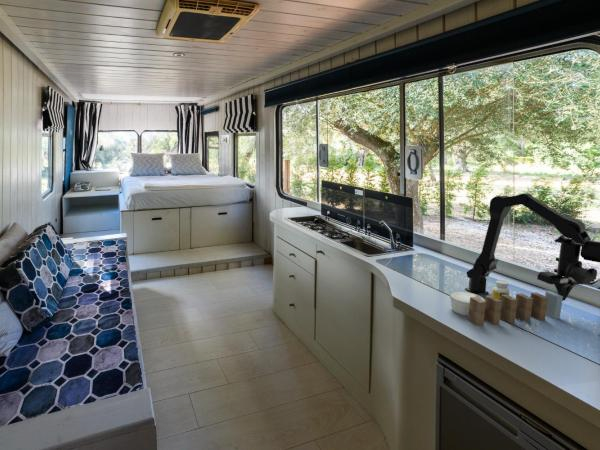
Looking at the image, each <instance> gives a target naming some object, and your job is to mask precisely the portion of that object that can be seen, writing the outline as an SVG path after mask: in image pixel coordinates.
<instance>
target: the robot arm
mask: <svg viewBox="0 0 600 450" xmlns="http://www.w3.org/2000/svg"><path fill="white" fill-rule="evenodd" d="M519 205H522V206H523V207H525V208H527V209H528V210H530V211H532V212H533V213H535V214H536V215H538V216H539V217H541V218H543V219H544V220H546V221H548V222H549V223H550V224H551V225H552V226H554V228H555V229H556V230H557V232H559V233H560V234H561V235H560V236H558V237H557V238H556V239H554V242H555V243H559V244H560V248H559V254H558V255H559V256H558V257H555V262H557V268H554V269H553V270H554V271H553V272H551V271H549V270H547V271H540V272H538V273H537V280H539V281H540V282H543V283H546V284H549V285H554V287H555V289H556V292H557V294H558V295H561V296H563V299H562V302H563V301H566V299H567V297H568V296H569V295H570V292H571V291H572V290H573V289H574V287H576V286H578V285H583V286H584V285H590V284H591V283H592V282H595V280H596V279H597V275H598V270H597V269H595V268H586V267H585V268H584V267H583V262H582V260H580V257H581V258H583V260H584V261H590V262H594V263H600V241H598V240H597V241H596V240H592V239H591V237H590V235H589V234H588V233H587V231H586V225H585V223H584V222H583V221H581V220H579V219H577V218H574V217H572V216H568V215H566V214H563V213H560V212H559V211H558V210H556V209H554V208H552V207H550V206H549V205H547V204H546V203H544V202H543V201H541V200H539V198H538V199H537V198H536V197H534V196H533V195H532V194H530V193H527V192H525V193H520V194H517V195H512V196H509V195H505V194H504V195H497V196H493V198H491V199H490V202H489V208H488V212H489V216H490V217H489V218H490V219H489V223H488V226H487V231H486V234H485V238H484V241H483V245H482V248H481V252H480V253H479V255H478V256H477V257H476V259H475V262H474V263H473V266H472V267H471V269H469V270H467V271H466V273H465V274H466V276H467V278H469V280H468V287H465V288H464V290H466V291H468V293H473V294H476V295H484V294H489V291H487V290H486V289H487V277H489V276H490V275H491V273H493V272H494V271H495V270H496V269H498V268H497V264H498V263H499V259H498V258H496V256H495V253H496V248H497V245H498V240H499V238H500V235H501V230H502V228H503V227H502V226H503V223H504V220H505V218H506V217H507V216H508V214H509V213H510V211H511V208H512V207H514V206H519Z"/></svg>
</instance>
